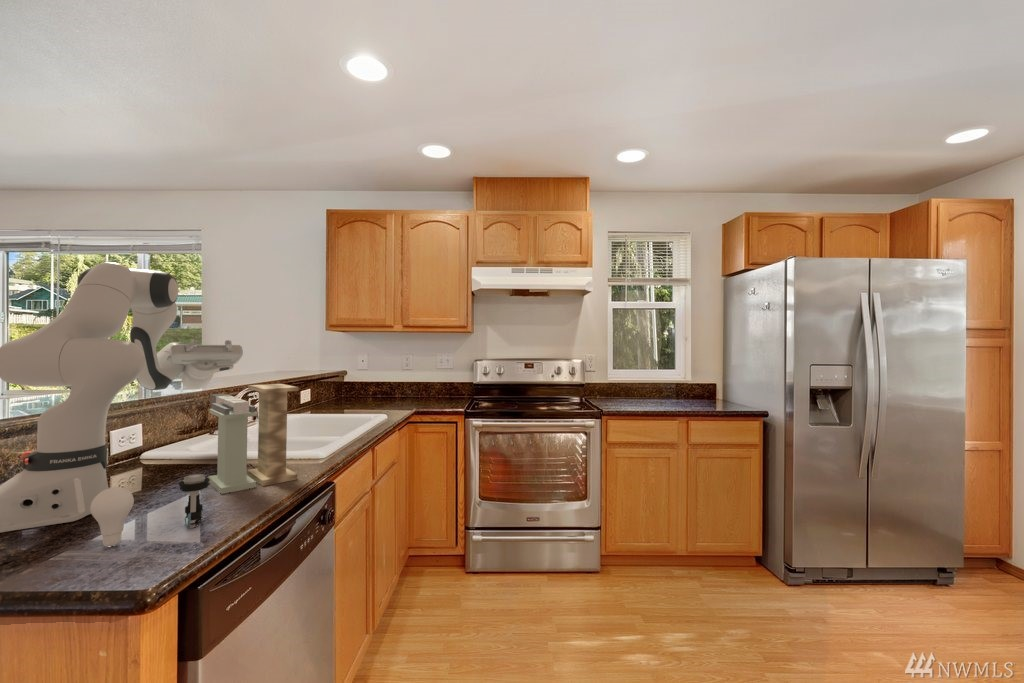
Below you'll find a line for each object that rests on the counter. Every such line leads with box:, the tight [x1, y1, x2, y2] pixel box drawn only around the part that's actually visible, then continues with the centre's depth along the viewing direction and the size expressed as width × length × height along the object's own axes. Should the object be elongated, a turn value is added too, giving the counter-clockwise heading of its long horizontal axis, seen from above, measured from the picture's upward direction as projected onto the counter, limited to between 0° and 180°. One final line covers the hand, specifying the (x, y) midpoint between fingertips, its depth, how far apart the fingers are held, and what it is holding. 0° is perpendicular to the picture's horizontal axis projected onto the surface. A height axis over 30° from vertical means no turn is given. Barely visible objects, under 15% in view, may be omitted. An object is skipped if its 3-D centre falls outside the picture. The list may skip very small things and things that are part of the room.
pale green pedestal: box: [207, 403, 258, 495], centre depth 122 cm, size 8×14×22 cm, turn 45°
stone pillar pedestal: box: [247, 383, 300, 487], centre depth 129 cm, size 9×14×26 cm, turn 45°
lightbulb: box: [90, 486, 135, 547], centre depth 84 cm, size 6×6×11 cm
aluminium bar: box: [209, 393, 250, 415], centre depth 125 cm, size 4×26×3 cm, turn 45°
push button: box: [178, 473, 210, 529], centre depth 95 cm, size 7×5×10 cm
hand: (212, 341), depth 148 cm, fingers open, 8 cm apart
